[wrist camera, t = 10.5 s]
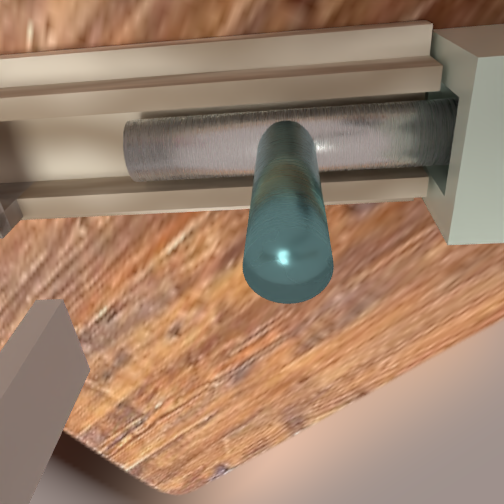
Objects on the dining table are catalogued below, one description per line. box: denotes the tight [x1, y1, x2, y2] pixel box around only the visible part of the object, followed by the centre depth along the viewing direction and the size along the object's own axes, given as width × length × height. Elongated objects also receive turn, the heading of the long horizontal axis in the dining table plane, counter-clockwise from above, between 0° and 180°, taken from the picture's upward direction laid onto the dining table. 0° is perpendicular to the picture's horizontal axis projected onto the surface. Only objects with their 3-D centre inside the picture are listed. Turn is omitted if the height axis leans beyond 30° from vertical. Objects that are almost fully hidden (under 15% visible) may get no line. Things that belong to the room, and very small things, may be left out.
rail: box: [0, 20, 443, 238], centre depth 27 cm, size 10×28×6 cm, turn 95°
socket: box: [422, 24, 504, 245], centre depth 25 cm, size 9×6×8 cm, turn 5°
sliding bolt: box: [123, 98, 459, 304], centre depth 21 cm, size 3×20×14 cm, turn 95°
